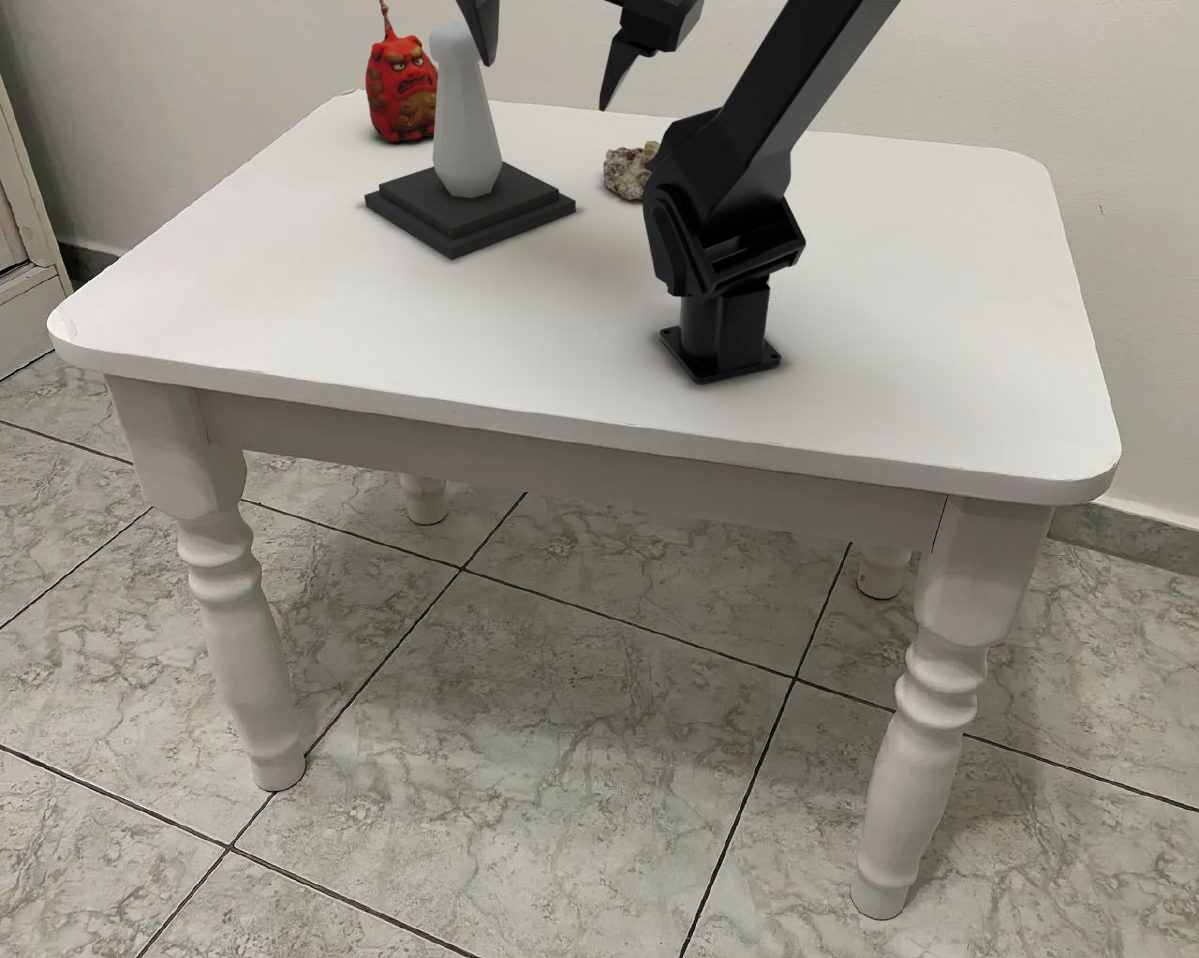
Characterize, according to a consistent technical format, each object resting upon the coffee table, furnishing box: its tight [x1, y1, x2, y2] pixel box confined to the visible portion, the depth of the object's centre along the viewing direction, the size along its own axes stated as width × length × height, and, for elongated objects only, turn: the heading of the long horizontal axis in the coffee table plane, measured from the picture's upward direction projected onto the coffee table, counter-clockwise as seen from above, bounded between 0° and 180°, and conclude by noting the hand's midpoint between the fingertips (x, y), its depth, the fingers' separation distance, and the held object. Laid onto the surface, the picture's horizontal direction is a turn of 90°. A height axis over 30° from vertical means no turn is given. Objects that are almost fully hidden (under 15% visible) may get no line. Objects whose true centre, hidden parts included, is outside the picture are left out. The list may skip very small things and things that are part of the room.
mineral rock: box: [602, 140, 661, 201], centre depth 89 cm, size 11×4×8 cm
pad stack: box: [363, 160, 577, 260], centre depth 86 cm, size 13×13×2 cm
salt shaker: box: [428, 22, 503, 198], centre depth 81 cm, size 6×6×13 cm
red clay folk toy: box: [364, 0, 438, 143], centre depth 95 cm, size 8×7×15 cm
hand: (546, 86), depth 73 cm, fingers open, 9 cm apart
